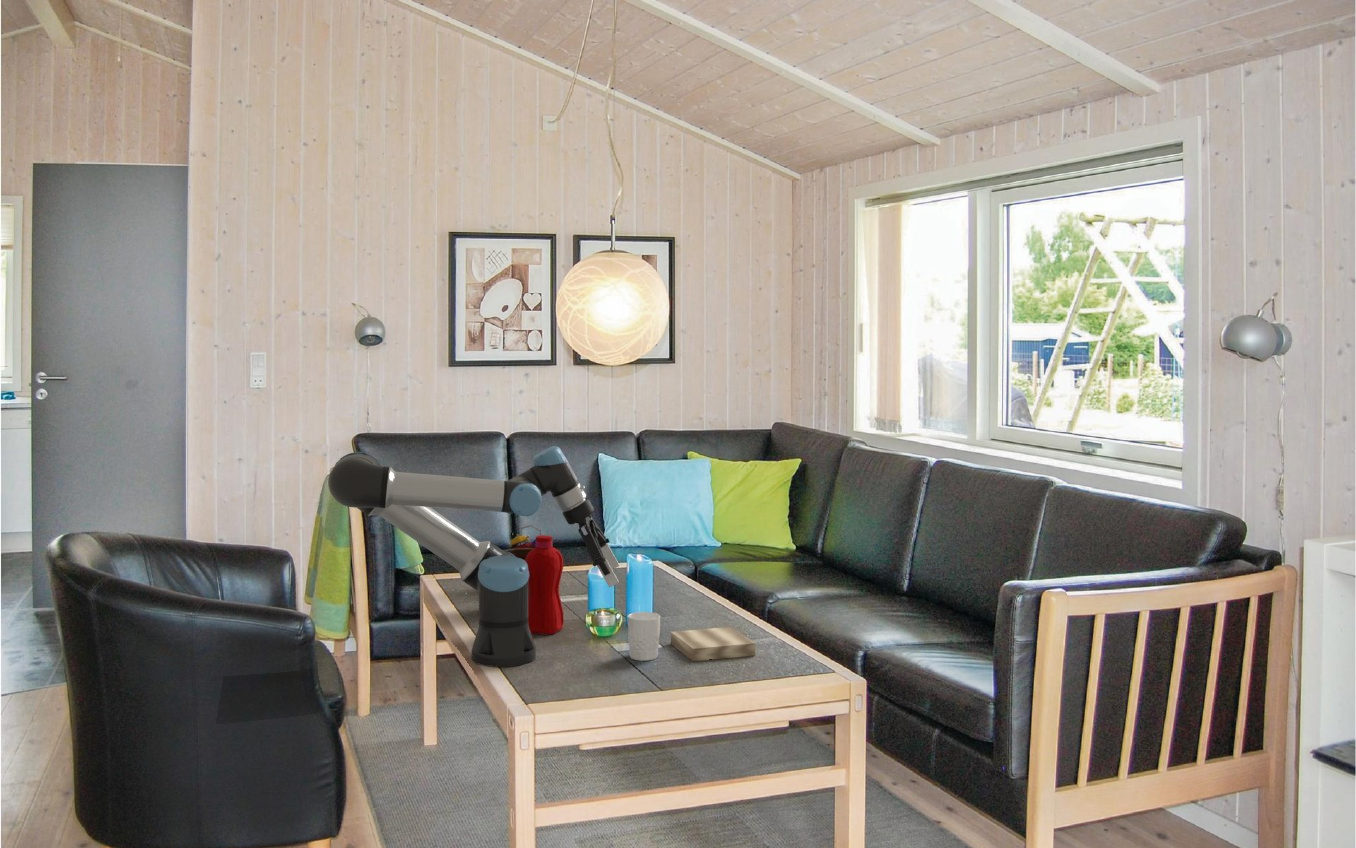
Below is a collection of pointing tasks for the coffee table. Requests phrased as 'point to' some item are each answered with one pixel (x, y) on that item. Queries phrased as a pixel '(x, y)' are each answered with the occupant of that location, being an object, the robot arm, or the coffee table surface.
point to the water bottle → (544, 587)
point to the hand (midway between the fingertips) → (614, 576)
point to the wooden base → (712, 643)
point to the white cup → (643, 635)
